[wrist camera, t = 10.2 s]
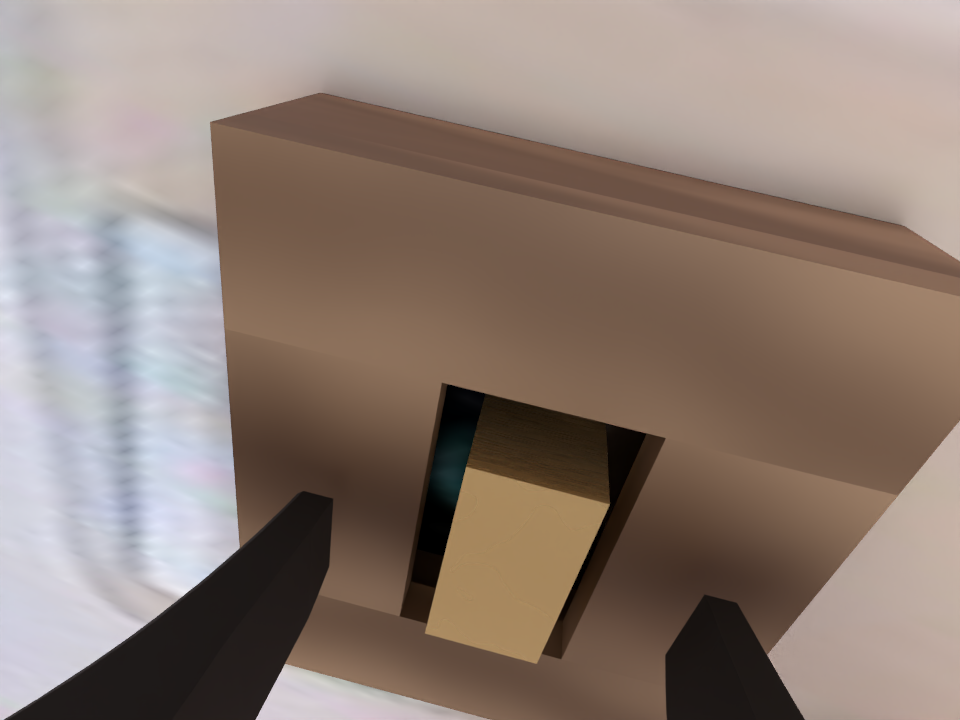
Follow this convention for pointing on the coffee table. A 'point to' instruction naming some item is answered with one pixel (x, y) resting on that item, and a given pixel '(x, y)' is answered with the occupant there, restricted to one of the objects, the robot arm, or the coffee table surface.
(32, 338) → the coffee table surface
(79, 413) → the coffee table surface
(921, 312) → the walnut coin box
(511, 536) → the tan flat rectangular block
